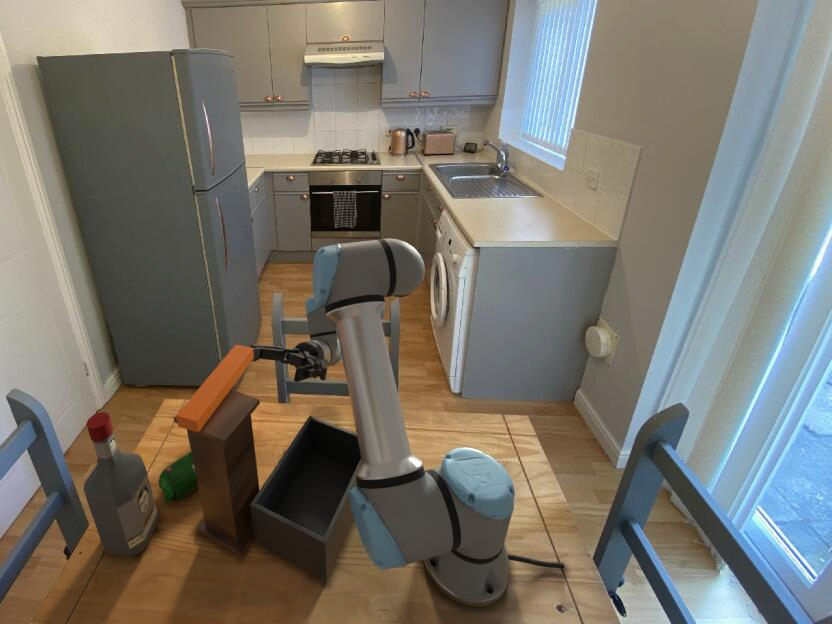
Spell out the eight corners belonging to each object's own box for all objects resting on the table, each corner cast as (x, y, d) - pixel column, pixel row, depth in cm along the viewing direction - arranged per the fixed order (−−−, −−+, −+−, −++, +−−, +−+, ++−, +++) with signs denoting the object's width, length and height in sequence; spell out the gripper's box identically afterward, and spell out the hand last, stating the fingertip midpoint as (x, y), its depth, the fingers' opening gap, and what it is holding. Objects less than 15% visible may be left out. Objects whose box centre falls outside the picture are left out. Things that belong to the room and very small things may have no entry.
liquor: (97, 555, 80) (55, 439, 68) (123, 508, 88) (89, 398, 77) (142, 560, 79) (107, 444, 67) (164, 513, 87) (136, 402, 76)
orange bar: (254, 357, 86) (253, 347, 85) (198, 432, 69) (196, 421, 68) (236, 354, 88) (235, 344, 87) (178, 426, 70) (175, 415, 69)
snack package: (234, 467, 97) (231, 450, 95) (168, 512, 87) (164, 494, 85) (219, 448, 102) (216, 432, 100) (155, 488, 92) (151, 471, 90)
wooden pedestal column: (270, 510, 87) (259, 399, 76) (241, 557, 79) (224, 440, 67) (228, 489, 92) (211, 381, 80) (197, 531, 84) (173, 418, 72)
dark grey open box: (372, 475, 94) (373, 439, 90) (326, 583, 75) (325, 544, 71) (311, 450, 101) (309, 415, 96) (254, 543, 81) (249, 504, 77)
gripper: (353, 385, 102) (317, 402, 83) (267, 357, 112) (218, 366, 93) (359, 354, 102) (325, 364, 83) (273, 329, 113) (225, 333, 94)
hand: (268, 365), depth 88 cm, fingers open, 13 cm apart
